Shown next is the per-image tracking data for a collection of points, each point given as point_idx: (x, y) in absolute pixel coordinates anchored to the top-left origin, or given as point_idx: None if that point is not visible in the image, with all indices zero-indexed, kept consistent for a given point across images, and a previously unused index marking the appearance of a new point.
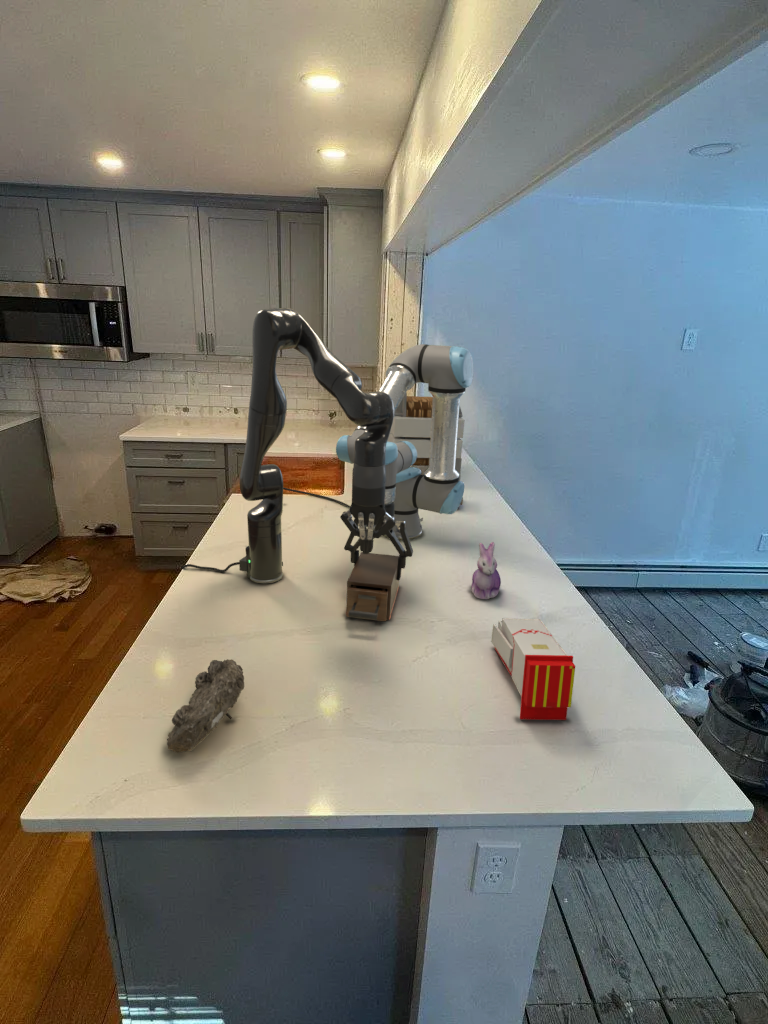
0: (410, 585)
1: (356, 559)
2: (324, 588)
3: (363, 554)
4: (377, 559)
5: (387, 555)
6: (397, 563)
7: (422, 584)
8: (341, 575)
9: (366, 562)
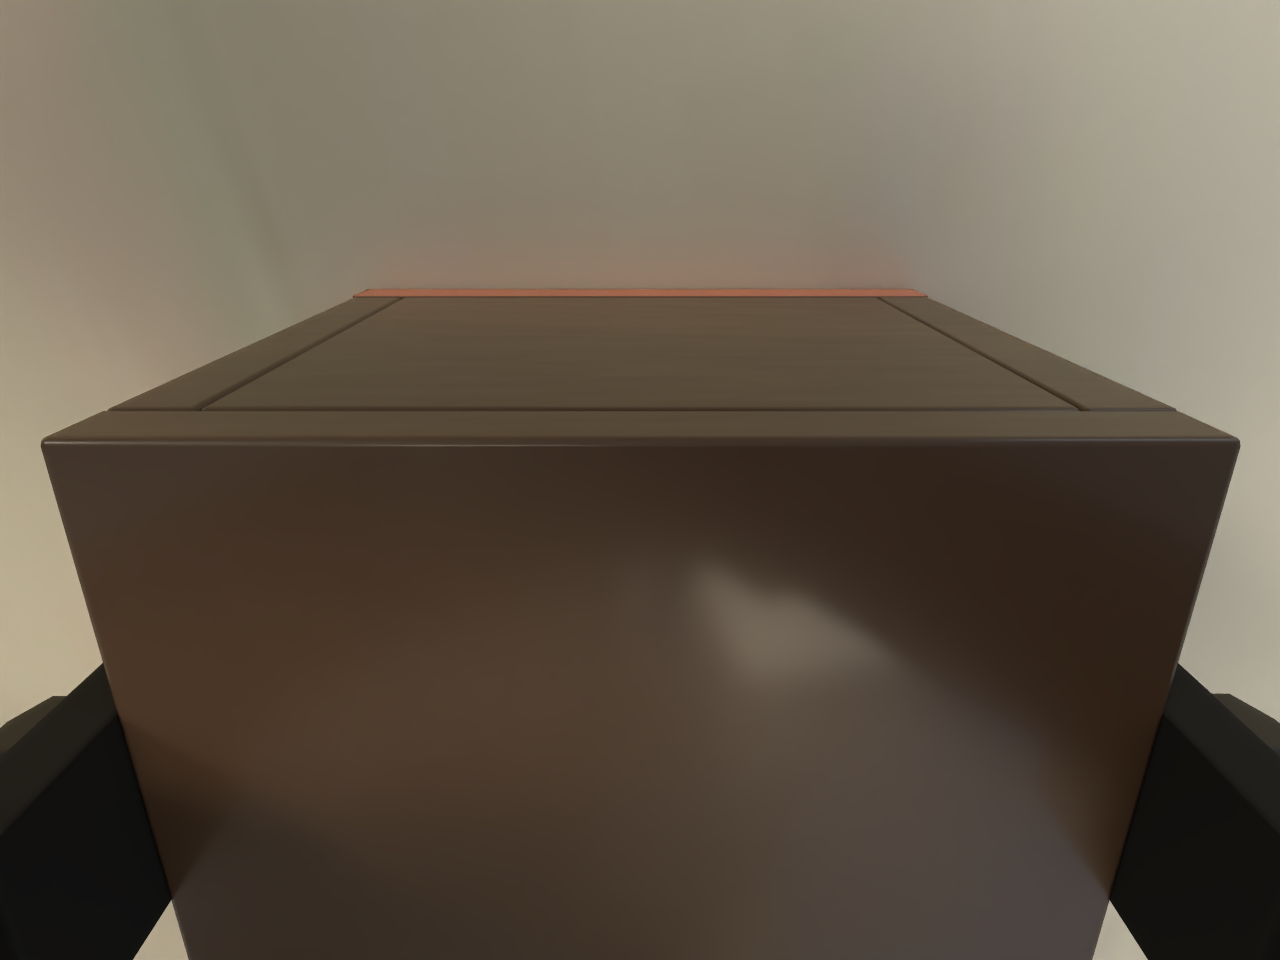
0: (1082, 184)
1: (142, 919)
2: (6, 529)
3: (175, 585)
4: (614, 769)
5: (851, 489)
6: (1109, 856)
7: (1272, 103)
8: (16, 96)
9: (405, 940)
